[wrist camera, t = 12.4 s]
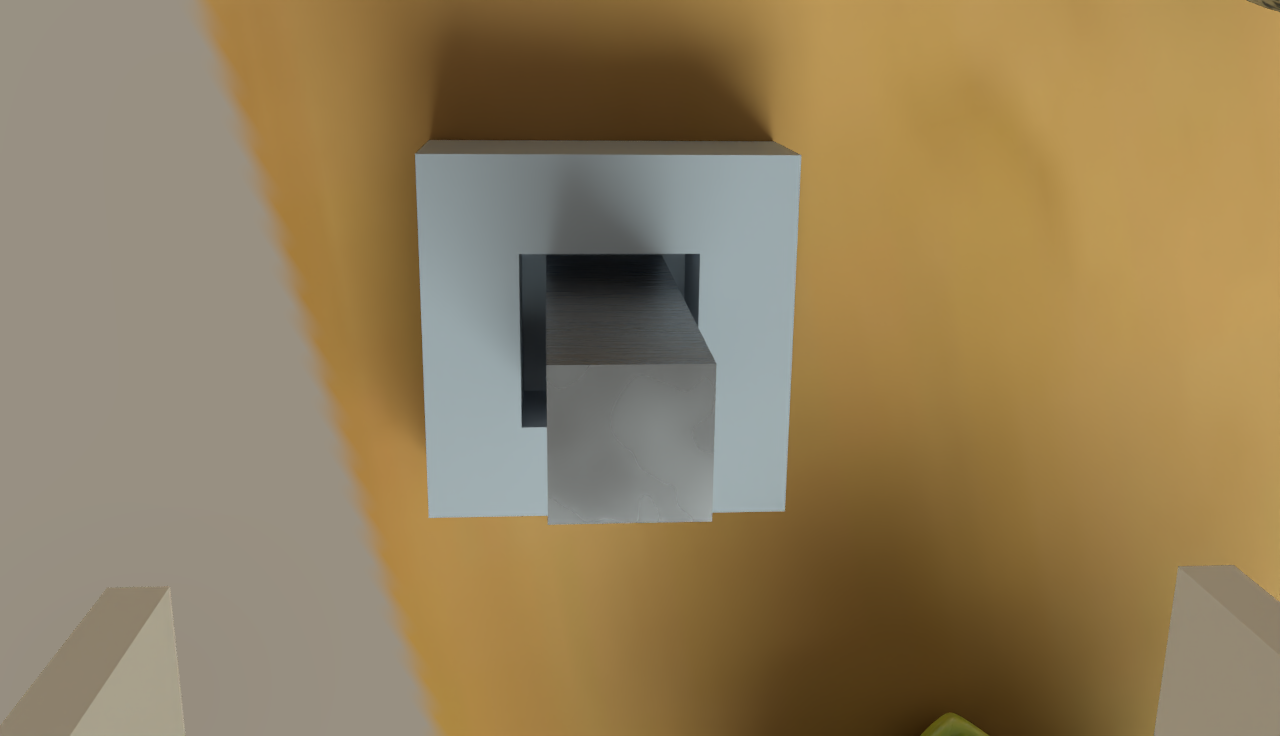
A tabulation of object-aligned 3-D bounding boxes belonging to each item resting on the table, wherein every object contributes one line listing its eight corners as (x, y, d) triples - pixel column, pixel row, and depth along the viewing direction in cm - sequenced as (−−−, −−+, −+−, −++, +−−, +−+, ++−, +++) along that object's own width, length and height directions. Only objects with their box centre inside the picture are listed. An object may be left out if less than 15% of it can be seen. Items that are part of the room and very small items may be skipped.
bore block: (429, 139, 35) (415, 154, 31) (774, 141, 36) (801, 155, 32) (440, 467, 38) (428, 517, 34) (761, 462, 39) (784, 511, 35)
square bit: (545, 255, 36) (546, 365, 24) (662, 255, 36) (716, 363, 25) (547, 367, 37) (548, 524, 25) (660, 366, 37) (712, 521, 25)
